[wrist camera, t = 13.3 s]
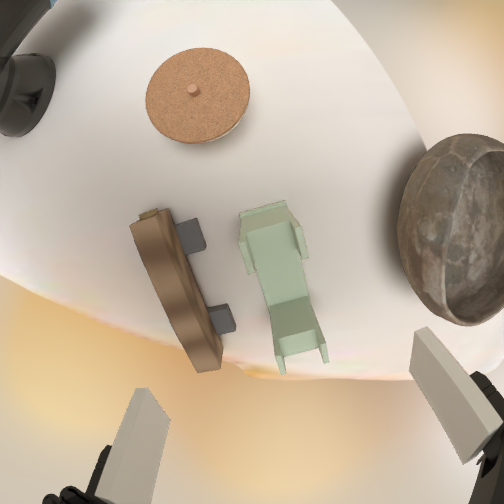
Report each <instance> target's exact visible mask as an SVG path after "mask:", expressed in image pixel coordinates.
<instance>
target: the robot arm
mask: <svg viewBox="0 0 504 504" xmlns="http://www.w3.org/2000/svg"><path fill="white" fill-rule="evenodd" d="M56 1H57V0H0V133H1V134H3V135H4V136H8V137H19V136H22V135H25V134H26V133H28V132H29V131H30V130H32V129H33V128H34V126H35V125H36V124H37V123H38V122H39V120H40V119H41V117H42V116H43V114H44V112H45V110H46V108H47V106H48V104H49V101H50V99H51V96H52V93H53V89H54V84H55V67H54V64H53V62H52V60H51V59H50V58H49V57H47V56H45V55H42V54H39V53H31V54H23V55H16V56H12V55H13V53H14V52H15V50H16V49H17V48H18V46H19V45H20V43H21V42H22V41H23V39H24V38H25V37H26V36H27V34H28V33H29V32H30V31H31V29H32V28H33V27H34V26H35V25H36V23H37V22H38V21H39V20H40V19H41V18H42V17H43V15H44V14H45V13H46V12H47V11H48V10H49V9H51V8H52V7H53V6H54V3H55V2H56ZM409 372H410V373H411V375H412V376H413V378H414V379H415V381H416V383H417V384H418V386H419V387H420V389H421V391H422V392H423V394H424V396H425V397H426V399H427V401H428V402H429V404H430V406H431V407H432V409H433V410H434V412H435V414H436V416H437V418H438V419H439V421H440V423H441V424H442V426H443V428H444V430H445V432H446V433H447V435H448V437H449V439H450V440H451V442H452V444H453V446H454V448H455V450H456V452H457V454H458V456H459V458H460V460H461V461H462V463H463V465H464V464H465V463H467V462H469V461H470V460H472V459H473V458H474V457H476V456H477V455H478V454H479V453H480V452H481V451H482V450H483V452H484V454H483V455H482V456H481V458H480V459H479V460H478V462H477V464H476V465H478V464H479V463H480V462H481V461H482V462H481V466H480V470H479V474H478V477H477V480H476V483H475V486H474V489H473V492H472V495H471V498H470V501H469V503H468V504H504V398H503V397H502V395H501V394H500V393H499V392H498V391H497V390H496V388H495V387H494V385H492V383H491V382H490V380H489V379H488V378H487V377H486V376H485V375H483V374H482V373H480V372H478V371H476V372H474V373H473V374H471V375H468V374H467V372H466V371H465V370H464V369H463V367H462V366H461V365H460V364H459V362H458V361H457V360H456V359H455V358H454V356H453V355H452V354H451V353H450V352H449V351H448V349H447V348H446V347H445V346H444V345H443V344H442V342H441V341H440V340H439V339H438V338H437V337H436V336H435V334H434V333H433V332H432V331H431V330H430V329H429V328H428V327H424V328H422V329H419V330H417V331H414V340H413V348H412V355H411V361H410V367H409ZM169 424H170V418H169V417H168V415H167V414H166V413H165V411H164V410H163V409H162V407H161V406H160V405H159V403H158V402H157V400H156V399H155V397H154V396H153V394H152V393H151V391H150V390H149V389H148V388H136V389H135V392H134V394H133V396H132V398H131V401H130V403H129V406H128V408H127V410H126V413H125V415H124V418H123V420H122V422H121V425H120V427H119V430H118V432H117V435H116V438H115V440H114V443H113V445H112V446H110V445H107V446H106V447H105V448H104V449H103V451H102V452H101V453H100V456H99V459H98V462H97V464H96V466H95V469H94V472H93V474H92V477H91V480H90V482H89V485H88V488H87V490H86V492H85V493H83V492H81V491H80V490H79V489H77V488H76V487H73V486H67V487H65V488H64V489H63V490H62V491H61V492H60V496H59V497H58V496H56V495H55V494H48V495H46V496H45V497H44V499H43V502H42V504H151V500H152V496H153V491H154V487H155V482H156V478H157V473H158V469H159V465H160V461H161V457H162V453H163V448H164V444H165V440H166V437H167V433H168V429H169Z"/></svg>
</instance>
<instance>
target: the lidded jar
mask: <svg viewBox="0 0 504 504" xmlns="http://www.w3.org/2000/svg"><path fill="white" fill-rule="evenodd" d="M249 94H250V87H249V80H248V77H247V74H246V72H245V70H244V69H243V67H242V66H241V65H240V63H239V62H238V61H237V60H236V59H235V58H233V57H232V56H230V55H229V54H227V53H225V52H223V51H220V50H216V49H212V48H194V49H189V50H186V51H183V52H180V53H178V54H176V55H174V56H172V57H171V58H169V59H168V60H166V61H165V62H164V63H163V64H162V65H161V66H160V67H159V68H158V69H157V70H156V72H155V73H154V75H153V76H152V78H151V80H150V82H149V85H148V88H147V92H146V100H145V101H146V109H147V113H148V116H149V118H150V120H151V122H152V124H153V125H154V126H155V128H156V129H157V130H158V131H159V132H161V133H162V134H163V135H165V136H166V137H168V138H170V139H172V140H176V141H179V142H183V143H206V142H210V141H214V140H217V139H219V138H221V137H223V136H225V135H226V134H228V133H229V132H230V131H232V130H233V129H234V128H235V127H236V126H237V124H238V123H239V122H240V121H241V119H242V117H243V116H244V113H245V111H246V108H247V105H248V101H249Z"/></svg>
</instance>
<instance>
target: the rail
mask: <svg viewBox="0 0 504 504" xmlns="http://www.w3.org/2000/svg"><path fill="white" fill-rule="evenodd" d="M139 218H140V220H138V221H137V222H135V223H133V224H131V225H130V226H129V227H130V229H131V232H132V235H133V237H134V240H135V243H136V245H137V248H138V250H139V253H140V255H141V258H142V260H143V263H144V265H145V267H146V270H147V272H148V274H149V277H150V279H151V281H152V284H153V286H154V288H155V290H156V293H157V295H158V297H159V299H160V301H161V303H162V306H163V308H164V310H165V312H166V314H167V316H168V318H169V320H170V322H171V324H172V326H173V328H174V330H175V332H176V334H177V336H178V338H179V340H180V342H181V344H182V346H183V348H184V349H185V351H186V353H187V355H188V357H189V359H190V360H191V362H192V364H193V366H194V368H195V370H196V371H197V373H201V372H207V371H213V370H219V369H221V362H222V354H223V346H222V343H221V341H220V339H219V337H218V334H217V332H216V330H215V328H214V325H213V323H212V321H211V318H210V316H209V314H208V311H207V309H206V306H205V304H204V302H203V299H202V297H201V294H200V292H199V289H198V287H197V284H196V282H195V279H194V277H193V274H192V272H191V269H190V267H189V264H188V261H187V259H186V256H185V253H184V251H183V248H182V245H181V243H180V240H179V237H178V235H177V232H176V229H175V226H174V223H173V220H172V218H171V215H170V212H169V209H165V210H162V211H159V212H158V209H157V208H156V209H153V210H150V211H147V212H145V213H143V214H140V215H139Z"/></svg>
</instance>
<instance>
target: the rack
mask: <svg viewBox="0 0 504 504" xmlns="http://www.w3.org/2000/svg"><path fill="white" fill-rule="evenodd" d="M239 215H240V219H241V228H240V235H239V242H238V244H239V247H240V251H241V254H242V257H243V260H244V263H245V266H246V269H247V272H248V274H252V273H255V269H254V264H255V267H256V271H257V274H258V277H259V280H260V284H261V287H262V290H263V293H264V297H265V300H266V303H267V306H268V310H269V313H270V319H271V327H272V335H273V344H274V352H275V358H276V361H277V364H278V367H279V370H280V373H281V375H283V374H286V368H285V362H284V357H286V356H290V355H294V354H298V353H301V352H305V351H309V350H312V349H316V348H319V350H320V353H321V356H322V359H323V362H324V363H328V362H329V357H328V352H327V346H326V342H325V339H324V336H323V334H322V331H321V329H320V326H319V323H318V321H317V318H316V316H315V313H314V311H313V308H312V306H311V303H310V299H309V294H308V290H307V285H306V281H305V276H304V272H303V268H302V263H301V259H300V256H301V258H302V260H303V259H307V258H309V256H308V252H307V247H306V243H305V239H304V235H303V230H302V226H301V225H300V224H299V222H298V221H297V220H296V218H295V217H294V216H293V215H292V213H291V212H290V211H289V210H288V208H287V204H286V201H285V200H284V201H280V202H277V203H273V204H270V205H266V206H262V207H259V208H255V209H252V210H248V211H245V212H241V213H239ZM299 254H300V255H299Z"/></svg>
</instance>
